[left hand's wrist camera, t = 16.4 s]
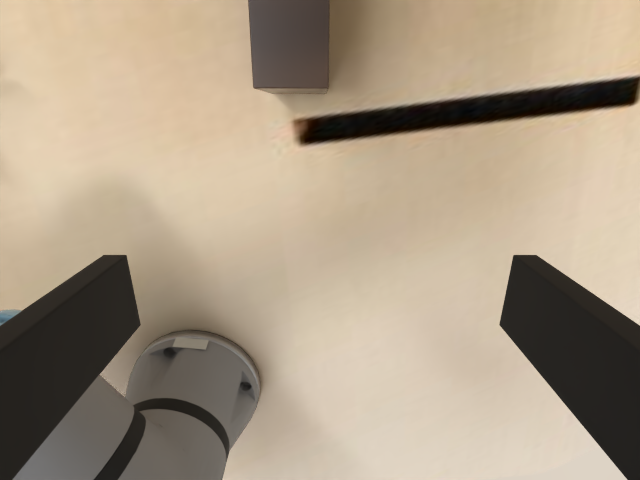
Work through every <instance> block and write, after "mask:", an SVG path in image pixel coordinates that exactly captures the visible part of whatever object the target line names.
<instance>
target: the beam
mask: <svg viewBox="0 0 640 480" xmlns="http://www.w3.org/2000/svg"><path fill="white" fill-rule="evenodd" d="M248 5H249V22H250V39H251V57H252V74H253V88H255V89H258V90H262V91H265V92H269V93H272V94H326V92H327V90H328V87H329V0H248Z"/></svg>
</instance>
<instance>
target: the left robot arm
mask: <svg viewBox="0 0 640 480" xmlns="http://www.w3.org/2000/svg"><path fill="white" fill-rule="evenodd" d="M139 326H140V320H139V315H138V310H137V305H136V300H135V295H134V290H133V285H132V280H131V275H130V271H129V266H128V261H127V256H126V255H103V256H102V257H100V258H99V259H97V260H96V261H94V262H93V263H92V264H90V265H89V266H87V267H86V268H84V269H83V270H81V271H80V272H78V273H77V274H75V275H74V276H72V277H71V278H70V279H68V280H67V281H65V282H64V283H62V284H61V285H59V286H58V287H56V288H55V289H53V290H52V291H50V292H49V293H48V294H46V295H45V296H43V297H42V298H40V299H39V300H37V301H36V302H34V303H33V304H31V305H30V306H28V307H27V308H26V309H24V310H23V311H21V310H2V311H0V480H222V478H223V474H224V470H225V466H226V462H227V458H228V454H229V451H230V449H231V448H232V446H233V445H234V443H235V442H236V440H237V439H238V437H239V436H240V434H241V433H242V431H243V430H244V428H245V427H246V425H247V424H248V422H249V421H250V419H251V418H252V416H253V414H254V411H255V409H256V407H257V403H258V399H259V394H260V377H259V374H258V371H257V368H256V366H255V364H254V363H253V361H252V360H251V358H250V357H249V356H248V355H247V353H246V352H245V351H244V350H242V349H241V348H240V347H239V346H237V345H236V344H235V343H233V342H231V341H230V340H228V339H226V338H224V337H221V336H219V335H216V334H213V333H209V332H203V331H193V330H192V331H179V332H174V333H170V334H167V335H165V336H162V337H160V338H159V339H157V340H155V341H154V342H153V343H151V344H150V345H149V346H148V347H147V348H146V349H145V350H144V352H143V353H142V354H141V356H140V357H139V359H138V360H137V362H136V363H135V365H134V368H133V370H132V372H131V375H130V378H129V382H128V387H127V391H126V396H125V397H123V396H122V395H121V394H120V393H119V392H118V391H117V390H116V389H115V388H113V387H112V386H111V385H110V384H109V383H108V382H107V381H106V380H105V379H103V378H102V377H101V376H100V375H99V374H100V373H101V372H102V371H103V370H104V368H105V367H106V366H107V365H108V363H109V362H110V361H111V360H112V359H113V357H114V356H115V355H116V354H117V353H118V351H119V350H120V349H121V348H122V347H123V345H124V344H125V343H126V342H127V340H128V339H129V338H130V337H131V336H132V334H133V333H134V332H135V331H136V330H137V328H138V327H139ZM500 326H501V327H502V328H503V330H504V331H505V332H506V333H507V334H508V336H509V337H510V338H511V339H512V340H513V342H514V343H515V344H516V345H517V347H518V348H519V349H520V350H521V351H522V353H523V354H524V355H525V356H526V357H527V359H528V360H529V361H530V362H531V363H532V365H533V366H534V367H535V368H536V370H537V371H538V372H539V373H540V374H541V376H542V377H543V378H544V379H545V380H546V382H547V383H548V384H549V385H550V386H551V388H552V389H553V390H554V391H555V392H556V394H557V395H558V396H559V397H560V399H561V400H562V401H563V402H564V403H565V405H566V406H567V407H568V408H569V409H570V411H571V412H572V413H573V414H574V415H575V417H576V418H577V419H578V420H579V421H580V423H581V424H582V425H583V426H584V428H585V429H586V430H587V431H588V432H589V434H590V435H591V436H592V437H593V438H594V440H595V441H596V442H597V443H598V444H599V446H600V447H601V448H602V449H603V450H604V452H605V453H606V454H607V455H608V456H609V458H610V459H611V460H612V461H613V463H614V464H615V465H616V466H617V467H618V469H619V470H620V471H621V472H622V473H623V475H624V476H625V477H626V478H627V480H640V326H639V325H638V324H636V323H635V322H634V321H632V320H631V319H629V318H628V317H626V316H625V315H623V314H622V313H620V312H619V311H617V310H616V309H614V308H613V307H612V306H610V305H609V304H607V303H606V302H604V301H603V300H601V299H600V298H598V297H597V296H595V295H594V294H592V293H591V292H590V291H588V290H587V289H585V288H584V287H582V286H581V285H579V284H578V283H576V282H575V281H573V280H572V279H570V278H569V277H568V276H566V275H565V274H563V273H562V272H560V271H559V270H557V269H556V268H554V267H553V266H551V265H550V264H548V263H547V262H546V261H544V260H543V259H541V258H540V257H538V256H537V255H514V256H513V261H512V266H511V271H510V275H509V280H508V285H507V290H506V295H505V300H504V305H503V310H502V315H501V320H500Z"/></svg>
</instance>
